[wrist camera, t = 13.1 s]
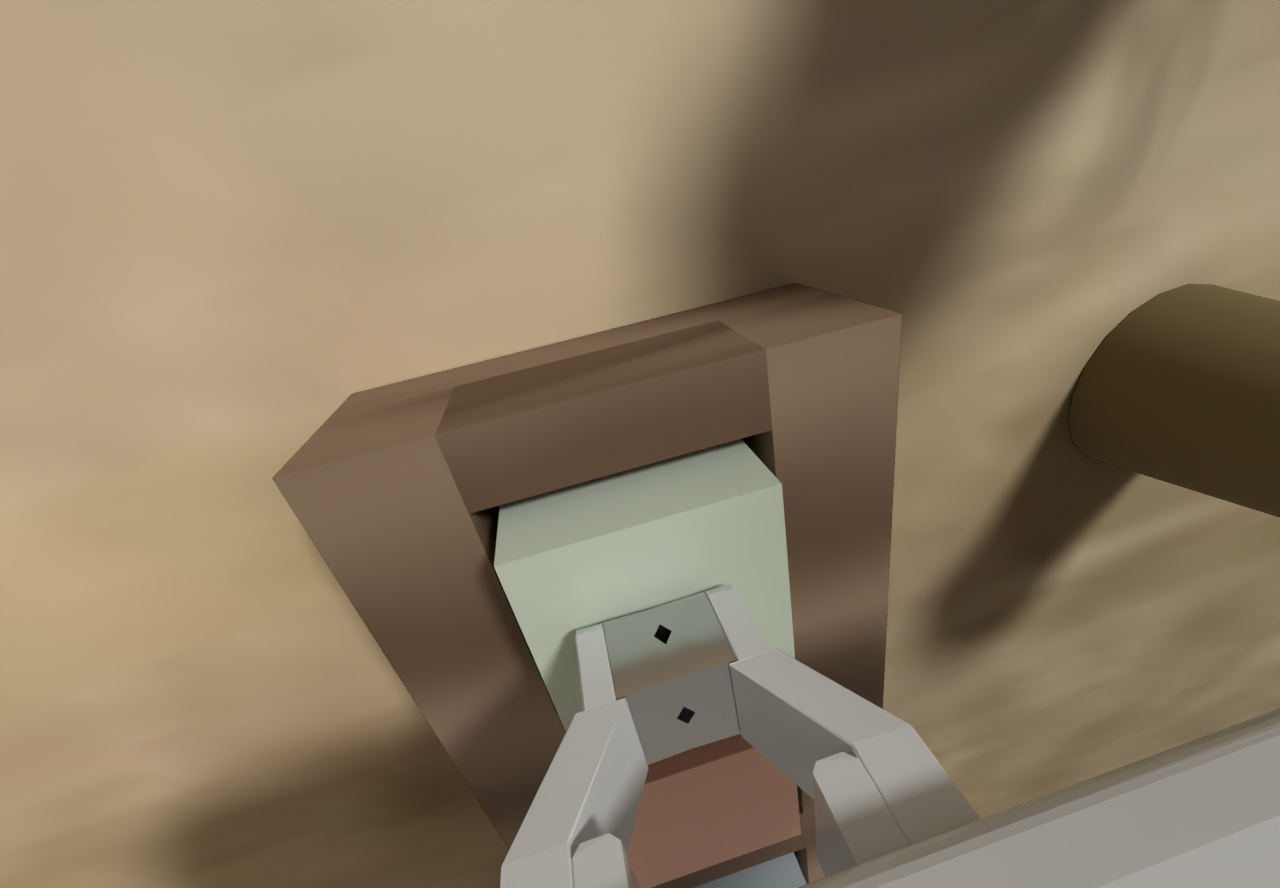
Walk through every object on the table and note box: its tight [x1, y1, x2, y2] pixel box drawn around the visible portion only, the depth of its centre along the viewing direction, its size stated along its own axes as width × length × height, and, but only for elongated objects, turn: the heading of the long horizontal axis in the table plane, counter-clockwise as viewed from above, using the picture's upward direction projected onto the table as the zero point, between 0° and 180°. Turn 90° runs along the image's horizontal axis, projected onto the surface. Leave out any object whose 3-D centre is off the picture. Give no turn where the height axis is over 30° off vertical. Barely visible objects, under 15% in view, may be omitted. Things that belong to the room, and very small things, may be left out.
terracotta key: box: [627, 734, 801, 888], centre depth 15 cm, size 5×5×2 cm
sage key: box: [494, 439, 795, 731], centre depth 11 cm, size 5×5×2 cm
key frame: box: [272, 283, 902, 888], centre depth 18 cm, size 33×11×4 cm, turn 11°
